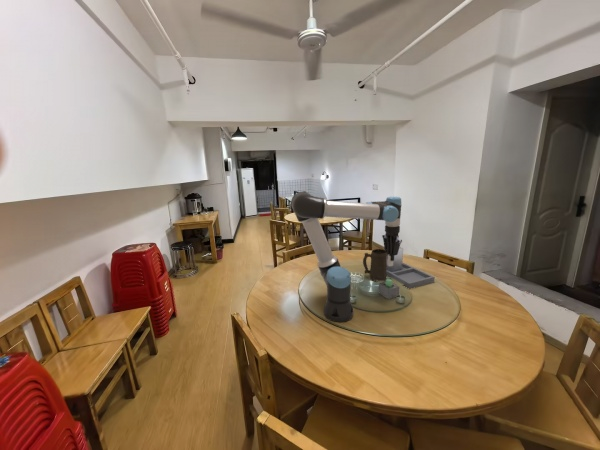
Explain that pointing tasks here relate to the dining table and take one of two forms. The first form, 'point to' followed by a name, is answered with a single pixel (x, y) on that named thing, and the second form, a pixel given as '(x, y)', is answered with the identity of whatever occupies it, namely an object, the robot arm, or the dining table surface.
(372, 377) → the dining table surface
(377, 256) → the beer stein
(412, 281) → the tray
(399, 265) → the white piece
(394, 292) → the grey square hollow block
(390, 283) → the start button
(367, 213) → the robot arm
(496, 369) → the dining table surface
